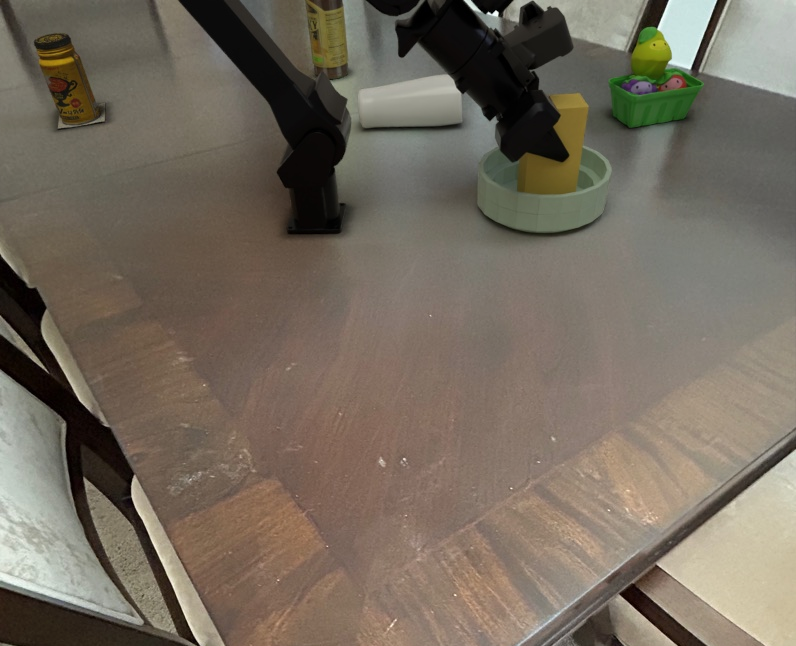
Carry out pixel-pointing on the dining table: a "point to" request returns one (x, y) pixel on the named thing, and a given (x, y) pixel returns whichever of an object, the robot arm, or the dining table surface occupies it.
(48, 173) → the dining table surface
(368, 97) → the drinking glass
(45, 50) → the condiment
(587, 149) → the bowl
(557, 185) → the sponge
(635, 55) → the fruit basket
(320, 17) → the sauce bottle
